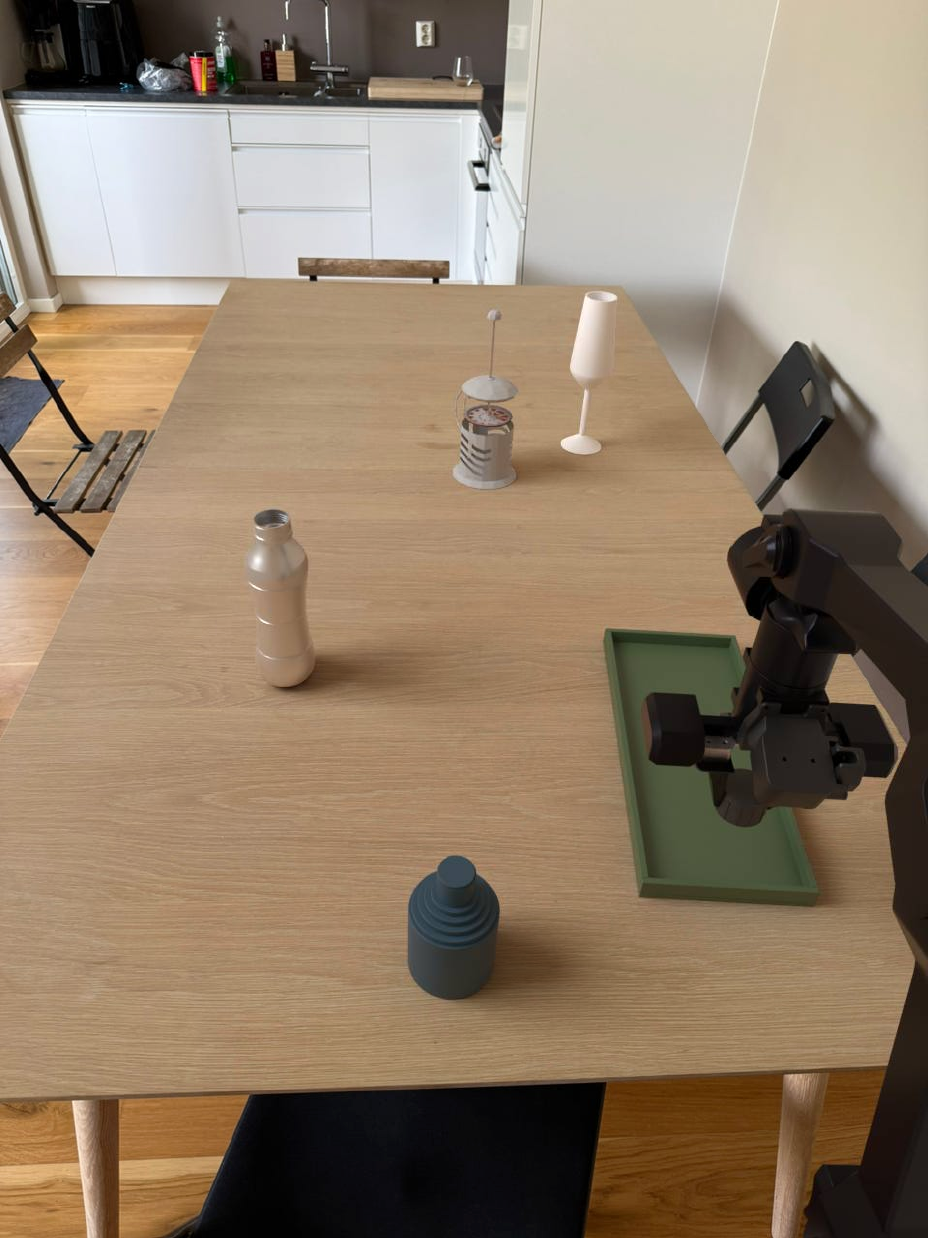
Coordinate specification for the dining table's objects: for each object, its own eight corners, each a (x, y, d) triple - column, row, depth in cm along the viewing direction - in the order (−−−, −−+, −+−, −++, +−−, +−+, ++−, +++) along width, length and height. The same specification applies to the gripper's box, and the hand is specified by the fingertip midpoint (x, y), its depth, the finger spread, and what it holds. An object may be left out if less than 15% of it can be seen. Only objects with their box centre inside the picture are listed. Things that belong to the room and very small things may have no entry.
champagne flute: (555, 449, 144) (572, 298, 129) (567, 432, 149) (585, 286, 134) (595, 458, 142) (617, 306, 127) (606, 441, 147) (629, 293, 132)
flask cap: (712, 787, 77) (719, 765, 75) (760, 793, 77) (768, 771, 75) (717, 824, 74) (724, 802, 72) (766, 830, 73) (775, 808, 72)
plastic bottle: (248, 690, 96) (226, 532, 83) (269, 651, 101) (251, 497, 89) (306, 699, 95) (292, 541, 83) (324, 658, 100) (314, 505, 88)
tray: (813, 906, 77) (820, 893, 76) (638, 896, 77) (642, 883, 76) (731, 648, 105) (735, 635, 104) (603, 641, 105) (605, 627, 104)
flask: (507, 984, 70) (518, 897, 63) (422, 1011, 68) (425, 924, 61) (476, 911, 75) (484, 823, 68) (397, 933, 73) (396, 845, 66)
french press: (480, 495, 131) (490, 327, 115) (432, 464, 138) (436, 302, 122) (529, 477, 136) (545, 313, 120) (481, 448, 143) (490, 290, 127)
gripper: (680, 734, 59) (641, 878, 68) (961, 750, 59) (883, 892, 68) (657, 629, 68) (625, 770, 77) (902, 643, 68) (840, 783, 77)
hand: (740, 804), depth 75 cm, fingers closed on flask cap, 4 cm apart
